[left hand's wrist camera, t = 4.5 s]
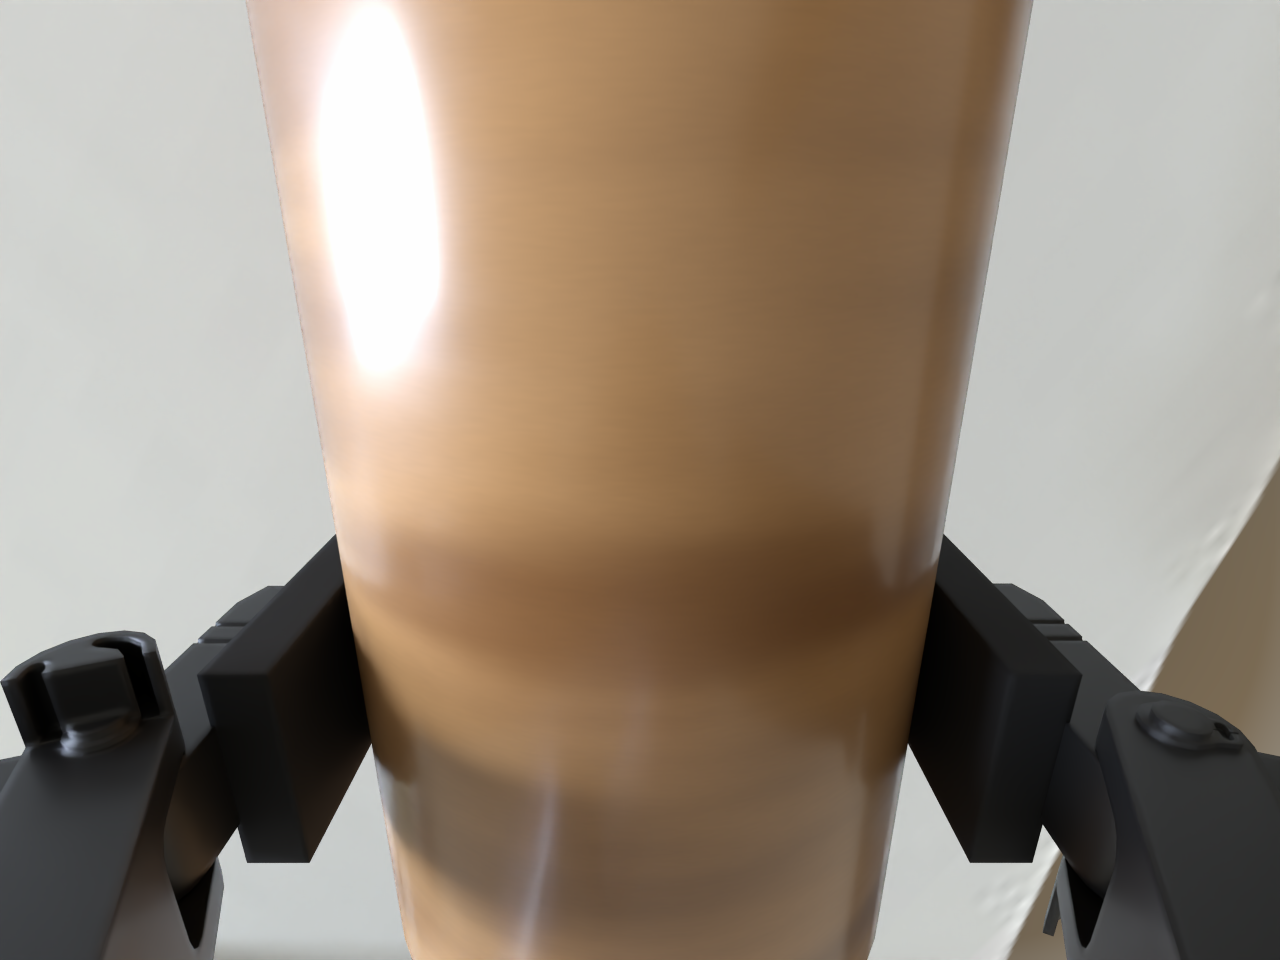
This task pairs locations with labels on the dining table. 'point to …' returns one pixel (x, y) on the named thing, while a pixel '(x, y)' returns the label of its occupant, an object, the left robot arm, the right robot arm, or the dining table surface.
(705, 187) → the brown cylinder
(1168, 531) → the dining table surface
